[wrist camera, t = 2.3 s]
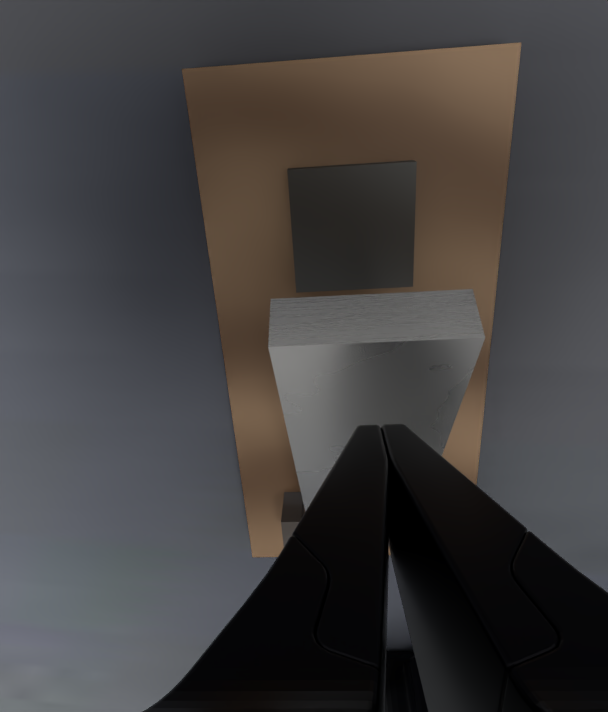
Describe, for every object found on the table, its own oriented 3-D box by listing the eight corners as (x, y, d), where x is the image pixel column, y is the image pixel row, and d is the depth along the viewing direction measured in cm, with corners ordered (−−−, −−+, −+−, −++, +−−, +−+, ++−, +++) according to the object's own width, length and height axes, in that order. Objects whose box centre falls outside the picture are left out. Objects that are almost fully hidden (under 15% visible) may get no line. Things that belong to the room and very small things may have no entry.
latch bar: (409, 516, 22) (413, 549, 21) (308, 518, 22) (309, 551, 21) (481, 284, 10) (497, 341, 9) (261, 295, 10) (256, 351, 9)
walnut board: (461, 529, 24) (480, 586, 21) (256, 533, 25) (247, 589, 22) (504, 49, 16) (546, 32, 13) (193, 73, 16) (164, 62, 13)
